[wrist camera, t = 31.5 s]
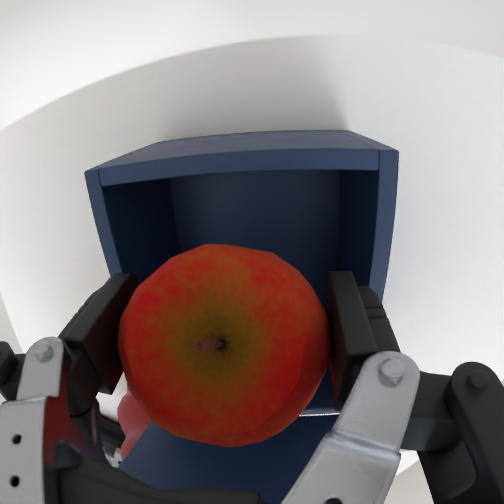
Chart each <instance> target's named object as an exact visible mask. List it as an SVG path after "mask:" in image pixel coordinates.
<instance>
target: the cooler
mask: <svg viewBox="0 0 504 504" xmlns="http://www.w3.org/2000/svg"><path fill="white" fill-rule="evenodd" d="M398 162H399V151H398V150H395V149H393V148H391V147H388V146H386V145H384V144H381V143H379V142H377V141H374V140H372V139H369V138H367V137H364V136H362V135H359V134H356V133H354V132H351V131H344V130H293V131H266V132H248V133H234V134H223V135H212V136H202V137H193V138H185V139H177V140H170V141H163V142H157V143H154V144H152V145H149V146H146V147H143V148H141V149H138V150H135V151H133V152H130V153H128V154H125V155H123V156H120V157H118V158H115V159H113V160H110V161H108V162H105V163H103V164H101V165H98V166H96V167H94V168H91V169H89V170H87V171H85V173H84V174H85V179H86V184H87V189H88V193H89V198H90V202H91V207H92V211H93V215H94V219H95V223H96V227H97V231H98V235H99V238H100V242H101V246H102V249H103V253H104V256H105V260H106V263H107V266H108V269H109V273H110V276H112V275H113V274H114V273H135V274H136V275H137V277H138V279H139V282H140V284H141V283H142V282H144V281H145V280H146V279H147V278H148V277H149V276H150V275H152V274H153V273H154V272H155V271H156V270H157V269H159V268H160V267H161V266H162V265H163V264H164V263H166V262H167V261H168V260H169V259H170V258H171V257H174V256H177V255H179V254H182V253H184V252H187V251H189V250H192V249H194V248H197V247H199V246H202V245H205V244H228V245H233V246H239V247H244V248H250V249H255V250H261V251H267V252H272V253H274V254H275V255H277V256H278V257H280V258H281V259H283V260H284V261H286V262H287V263H289V264H290V265H291V266H293V267H294V268H296V269H297V270H298V271H299V272H300V273H301V274H302V275H303V276H304V278H305V279H306V280H307V281H308V282H309V284H310V285H311V286H312V288H313V289H314V291H315V293H316V295H317V296H318V298H319V300H320V302H321V304H322V305H323V307H324V309H325V299H326V284H327V273H328V271H350V270H351V271H352V273H353V276H354V278H355V281H356V284H357V286H369V287H370V288H371V289H372V290H373V291H374V292H376V293H377V294H378V296H379V298H380V300H381V303H382V299H383V293H384V288H385V282H386V276H387V270H388V264H389V257H390V250H391V243H392V235H393V226H394V217H395V207H396V195H397V181H398ZM328 413H341V411H335V407H334V398H333V389H332V380H331V372H330V364H329V363H328V367H327V369H326V372H325V374H324V376H323V378H322V380H321V382H320V384H319V386H318V388H317V390H316V392H315V394H314V396H313V398H312V400H311V401H310V402H309V404H308V405H307V406H306V407H305V409H304V410H303V411H302V412H301V414H300V415H306V414H328Z"/></svg>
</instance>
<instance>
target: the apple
mask: <svg viewBox="0 0 504 504" xmlns="http://www.w3.org/2000/svg"><path fill="white" fill-rule="evenodd" d="M117 347H118V351H119V355H120V359H121V363H122V366H123V370H124V373H125V377H126V380H127V384H128V387H129V390H130V392H131V393H132V395H133V396H134V398H135V399H136V400H137V402H138V403H139V404H140V406H141V407H142V409H143V410H144V411H145V412H146V414H147V415H148V416H149V418H150V419H151V420H152V422H154V423H155V424H157V425H159V426H160V427H162V428H164V429H165V430H167V431H169V432H171V433H172V434H174V435H176V436H178V437H181V438H185V439H190V440H194V441H199V442H203V443H208V444H214V445H219V446H225V447H231V448H232V447H238V446H243V445H248V444H253V443H257V442H261V441H264V440H266V439H268V438H270V437H272V436H274V435H276V434H278V433H279V432H281V431H283V430H284V429H285V428H286V427H287V426H289V425H290V424H291V423H292V422H293V421H295V420H296V418H297V417H298V416H299V415H300V414H301V412H302V411H303V410H304V409H305V407H306V406H307V405H308V404H309V402H310V401H311V400H312V398H313V396H314V394H315V392H316V390H317V388H318V386H319V384H320V382H321V380H322V378H323V376H324V374H325V372H326V369H327V367H328V363H329V358H330V353H331V337H330V330H329V323H328V317H327V313H326V311H325V309H324V307H323V305H322V304H321V302H320V300H319V298H318V296H317V295H316V293H315V291H314V289H313V288H312V286H311V285H310V284H309V282H308V281H307V280H306V279H305V278H304V276H303V275H302V274H301V273H300V272H299V271H298V270H297V269H296V268H294V267H293V266H291V265H290V264H289V263H287V262H286V261H284V260H283V259H281V258H280V257H278V256H277V255H275V254H274V253H272V252H267V251H261V250H255V249H250V248H244V247H239V246H233V245H228V244H205V245H202V246H199V247H197V248H194V249H192V250H189V251H187V252H184V253H182V254H179V255H177V256H174V257H171V258H170V259H169V260H168V261H167V262H166V263H164V264H163V265H162V266H161V267H160V268H159V269H157V270H156V271H155V272H154V273H153V274H152V275H150V276H149V277H148V278H147V279H146V280H145V281H144V282H142V283H141V284H140V285H139V286H138V287H137V288H136V290H135V292H134V294H133V295H132V297H131V299H130V301H129V303H128V305H127V307H126V308H125V310H124V312H123V314H122V316H121V318H120V324H119V333H118V343H117Z"/></svg>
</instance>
